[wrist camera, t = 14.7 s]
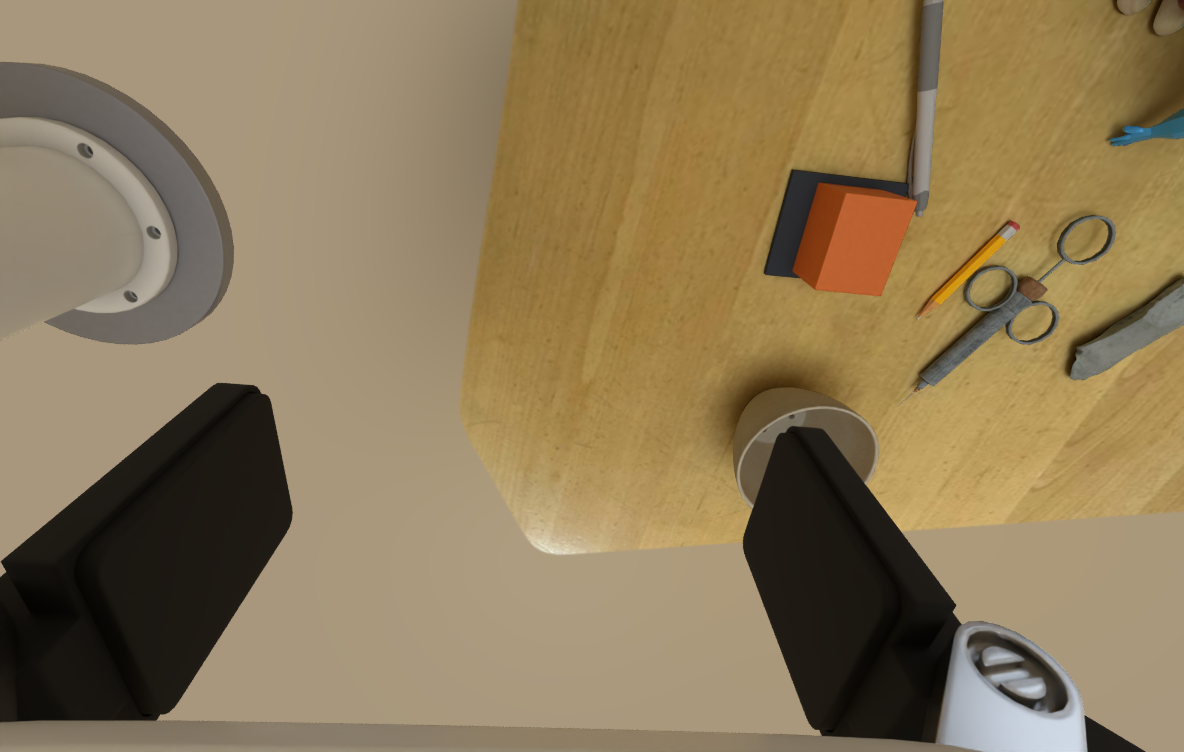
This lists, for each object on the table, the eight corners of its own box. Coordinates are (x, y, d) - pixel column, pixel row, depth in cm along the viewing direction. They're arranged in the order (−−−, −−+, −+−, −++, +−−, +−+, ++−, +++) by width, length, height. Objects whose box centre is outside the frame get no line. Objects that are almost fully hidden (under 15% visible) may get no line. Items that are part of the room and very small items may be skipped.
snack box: (818, 182, 35) (846, 192, 31) (883, 189, 35) (918, 201, 32) (791, 271, 37) (814, 290, 34) (852, 277, 38) (881, 296, 34)
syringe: (936, 437, 43) (926, 426, 44) (1156, 256, 36) (1135, 251, 37) (866, 384, 42) (859, 375, 43) (1079, 186, 34) (1061, 184, 36)
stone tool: (1054, 352, 41) (1061, 381, 44) (1074, 365, 40) (1080, 395, 43) (1194, 262, 38) (1191, 300, 41) (1220, 273, 37) (1215, 312, 40)
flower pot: (833, 450, 46) (875, 508, 39) (718, 471, 46) (741, 531, 40) (836, 347, 41) (884, 394, 35) (707, 372, 42) (732, 423, 35)
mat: (763, 273, 38) (765, 275, 38) (791, 169, 35) (793, 170, 34) (869, 283, 39) (872, 285, 38) (907, 183, 35) (910, 184, 35)
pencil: (1023, 228, 36) (1017, 223, 36) (922, 324, 39) (917, 320, 39) (1013, 225, 37) (1008, 219, 37) (915, 319, 40) (910, 315, 40)
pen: (903, 215, 36) (915, 219, 35) (916, -35, 30) (931, -41, 28) (918, 211, 36) (931, 216, 35) (934, -40, 29) (951, -46, 28)
